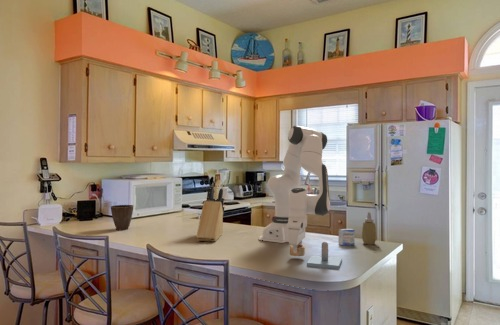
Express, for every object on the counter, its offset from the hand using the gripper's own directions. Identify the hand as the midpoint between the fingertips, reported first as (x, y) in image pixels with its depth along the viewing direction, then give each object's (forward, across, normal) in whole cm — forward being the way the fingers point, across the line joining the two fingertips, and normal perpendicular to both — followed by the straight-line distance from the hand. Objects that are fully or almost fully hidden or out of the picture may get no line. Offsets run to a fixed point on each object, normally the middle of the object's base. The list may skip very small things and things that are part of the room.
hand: (297, 250), depth 179 cm
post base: (+4, +4, +14) cm, 15 cm away
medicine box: (+4, -40, +19) cm, 45 cm away
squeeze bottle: (+4, -46, +31) cm, 56 cm away
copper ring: (+2, 0, 0) cm, 2 cm away
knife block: (+5, -33, -62) cm, 70 cm away
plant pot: (+5, -33, -130) cm, 134 cm away
